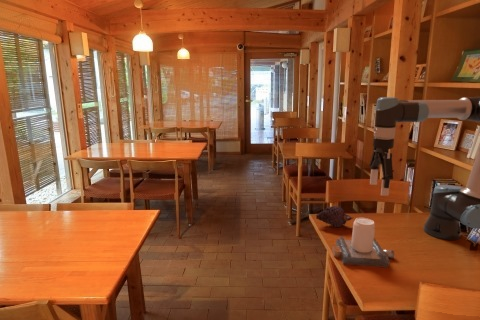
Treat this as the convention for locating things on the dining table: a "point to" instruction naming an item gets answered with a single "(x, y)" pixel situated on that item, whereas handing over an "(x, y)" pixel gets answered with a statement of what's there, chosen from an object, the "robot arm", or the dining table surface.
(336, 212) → the pine cone
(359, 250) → the beverage can
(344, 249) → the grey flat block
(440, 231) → the robot arm
